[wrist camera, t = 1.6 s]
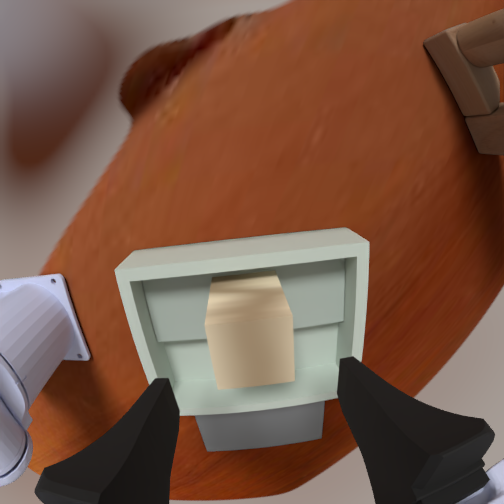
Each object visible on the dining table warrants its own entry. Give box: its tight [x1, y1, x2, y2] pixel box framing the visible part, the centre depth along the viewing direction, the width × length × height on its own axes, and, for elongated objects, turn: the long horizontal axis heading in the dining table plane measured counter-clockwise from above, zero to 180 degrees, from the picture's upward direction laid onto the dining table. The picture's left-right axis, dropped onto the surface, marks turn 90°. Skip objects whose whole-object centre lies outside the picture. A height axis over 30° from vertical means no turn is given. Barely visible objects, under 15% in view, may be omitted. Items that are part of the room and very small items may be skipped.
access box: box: [115, 227, 369, 416], centre depth 20 cm, size 15×12×4 cm
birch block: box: [204, 270, 295, 390], centre depth 17 cm, size 4×4×6 cm
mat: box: [195, 400, 325, 451], centre depth 26 cm, size 12×8×1 cm, turn 96°
